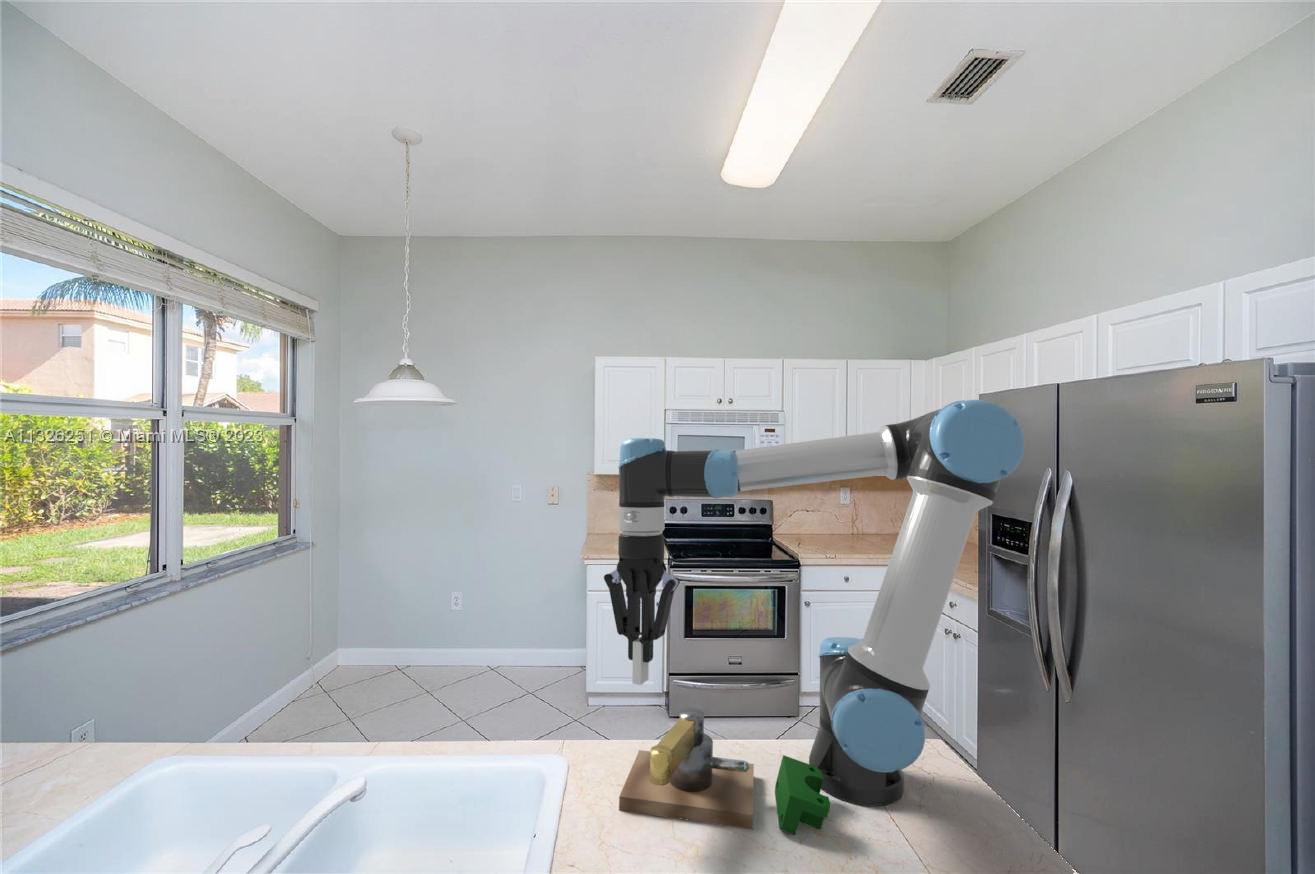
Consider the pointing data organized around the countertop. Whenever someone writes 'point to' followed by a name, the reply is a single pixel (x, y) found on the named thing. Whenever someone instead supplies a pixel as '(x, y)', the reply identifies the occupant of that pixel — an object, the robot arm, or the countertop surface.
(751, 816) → the stand
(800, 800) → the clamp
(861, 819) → the countertop surface
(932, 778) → the countertop surface
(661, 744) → the yellow bar
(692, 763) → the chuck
